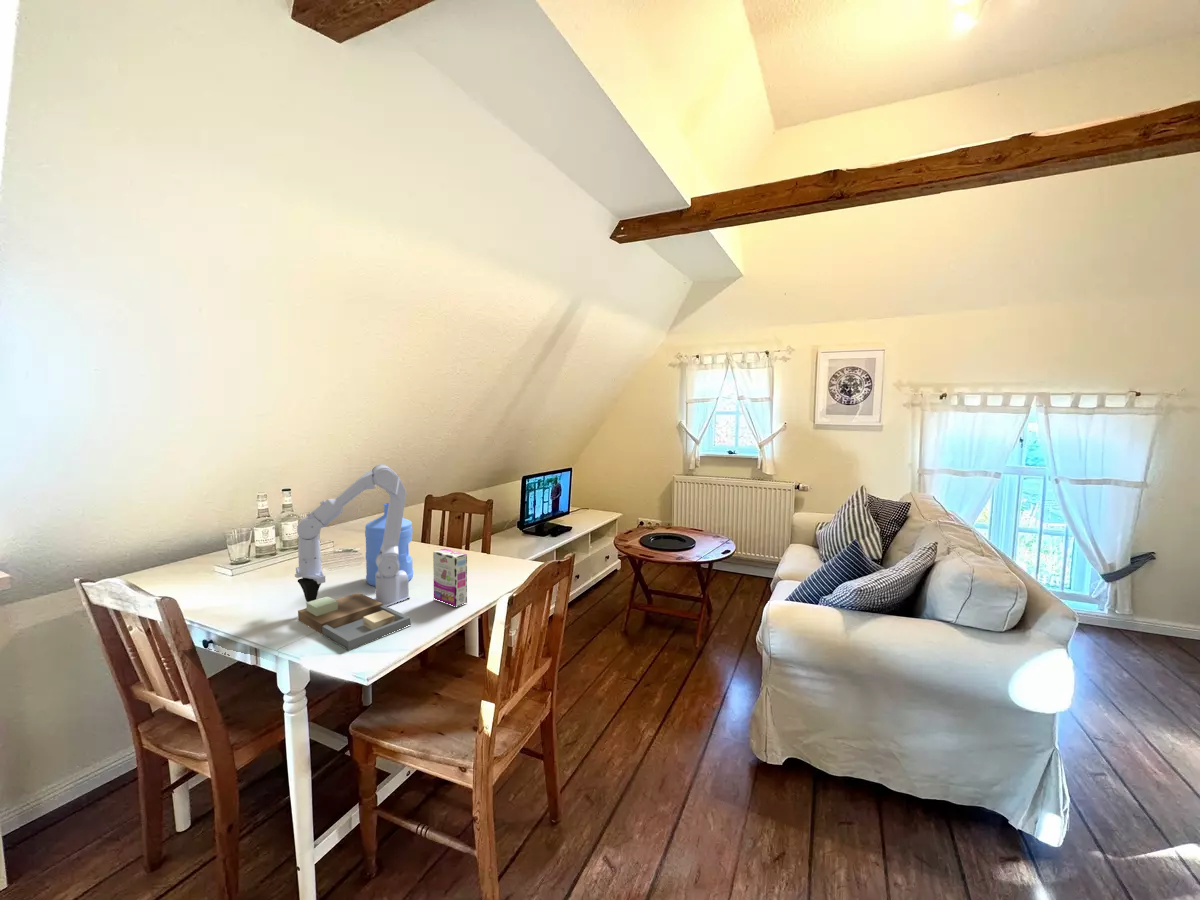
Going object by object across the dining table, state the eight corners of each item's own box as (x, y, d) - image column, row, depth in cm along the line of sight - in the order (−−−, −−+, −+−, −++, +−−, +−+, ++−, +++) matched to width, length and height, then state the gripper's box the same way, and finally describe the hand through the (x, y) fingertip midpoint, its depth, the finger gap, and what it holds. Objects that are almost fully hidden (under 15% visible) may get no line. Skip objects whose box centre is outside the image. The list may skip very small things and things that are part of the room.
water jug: (380, 591, 167) (379, 510, 164) (357, 580, 176) (355, 503, 174) (421, 579, 179) (420, 503, 177) (398, 569, 189) (397, 497, 186)
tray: (383, 613, 150) (383, 605, 149) (410, 625, 142) (410, 617, 141) (322, 634, 135) (322, 626, 135) (348, 650, 127) (348, 641, 127)
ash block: (394, 615, 141) (394, 623, 141) (383, 610, 145) (383, 618, 145) (374, 622, 136) (374, 631, 137) (363, 616, 140) (363, 625, 140)
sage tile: (327, 604, 148) (327, 596, 148) (337, 609, 145) (337, 601, 144) (306, 610, 143) (306, 602, 143) (316, 616, 140) (316, 607, 140)
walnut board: (358, 601, 158) (358, 592, 158) (382, 612, 150) (382, 603, 150) (298, 620, 144) (298, 610, 143) (321, 634, 135) (321, 623, 135)
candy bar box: (468, 603, 158) (467, 553, 157) (455, 608, 154) (455, 557, 153) (445, 595, 165) (445, 547, 163) (432, 600, 160) (432, 551, 159)
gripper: (284, 555, 148) (285, 599, 149) (306, 565, 139) (308, 611, 140) (309, 550, 153) (310, 592, 155) (332, 559, 145) (333, 604, 146)
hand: (311, 601), depth 148 cm, fingers closed
